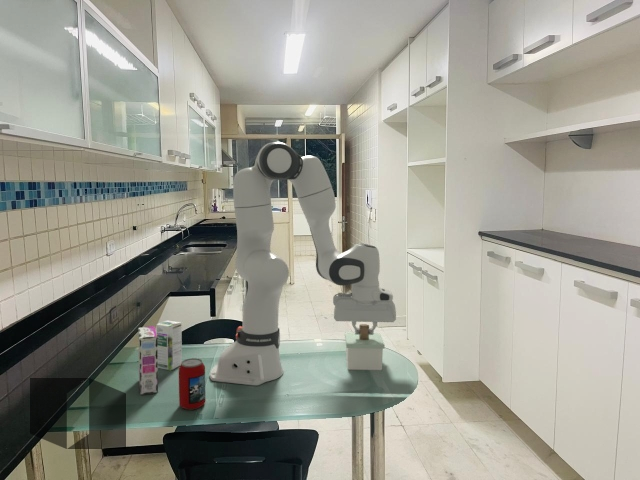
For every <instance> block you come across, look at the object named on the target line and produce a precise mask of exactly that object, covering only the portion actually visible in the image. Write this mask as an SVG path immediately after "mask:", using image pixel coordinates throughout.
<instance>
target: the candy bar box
mask: <svg viewBox="0 0 640 480" xmlns="http://www.w3.org/2000/svg"><path fill="white" fill-rule="evenodd" d="M137 330H138V334H137V335H138V338H137V339H138V341H137V342H138V378H139V380H138V381H139V392H140V394H139V395H141V396H144V395H149V394H150V395H151V394H157V393H158V392H159V368H158V347H157V331H156V326H155V325H154V326H153V325H152V326H144V327H138V329H137Z"/></svg>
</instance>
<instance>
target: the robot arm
mask: <svg viewBox="0 0 640 480" xmlns="http://www.w3.org/2000/svg"><path fill="white" fill-rule="evenodd" d="M287 180H288V181H289V182H290V183H291V184H292V186H293V188H294V190H295V194H296V198H297V200H298V203H299V205H300V208H301V210H302V213H303V215H304V217H305V219H306V222H307V224H308V227H309V230H310V234H311V238H312V241H313V245H314V247H315V253H316V256H315V257H316V258H315V268H316V269H315V270H316V272H317V274H318V275H319V276H320V277H321V278H322V279H324V280H326V281H329V282H330V283H333V284H334V285H336V286H349V285H351V292H338V293H336V294H334V295H333V298H332V303H333V305H334V311H333V319H334V320H335V322H348V323H349V322H351V325H352V327H353V329H354V333H355V335H359V334H360V333H359V332H360V329H359V327H357V326H356V325H357V323H360V322H362V323H363V322H365V323H370V322H371V323H372V326H371V328H370V327H369V335H374V333H375V329H376V328H377V326H378V323H394V322H395V321H396V320H397V311H396V310H397V308H396V305H395V303H394V301H393V299H394V296H393V293H392V292H391V290H389V289H385V288H383V287H380V281H379V274H380V272H381V271H380V270H381V268H380V267H381V266H380V253H379V249H378V248H377V247H376V246H374V245H371V244H367V243H364V242H363V243H361V242H358V243H355V244H354V245H353V246H352V247H350V248H349V249H348V250H346V251H343V252H340V251H339V250H338V249H337V248H336V246H335V243H334V240H333V237H332V236H333V235H332V232H331V228H330V218H331V216H332V215H333V214H334V212H335V210H336V207H337V203H336V198H335V197H336V196H335V192H334V190H333V187H332V184H331V183H332V182H331V180H330V178H329V175H328V173H327V171H326V169H325V167H324V165H323V163H322V161H321V160H320V159H319V158H318V157H317V156H313V155H305V156H301V155H300V154H298V152H297V151H295V149H293V147H291V146H290V145H289V144H287V143H285V142H281V141H271V142H268V143H266V144H264V145H263V146H262V147H261V148H260V149H259V151H258V152H257V154H256V157H255V159H254V161H253V164H252V166H250V167H245V168H241V169H240V170H239V171H237V172H236V173H235V174H234V177H233V185H232V186H233V188H232V189H233V190H232V191H233V192H232V194H233V207H234V209H233V210H234V215H235V222H236V230H237V232H236V233H237V235H236V237H237V240H236V241H237V242H236V258H235V260H234V266H235V267H234V268H235V270H236V272H237V274H238V275H239V276H240V277H241V278H242V279H243V280H245V281H246V282H247V291H246V296H245V300H244V302H243V303H242V313H241V314H242V326H241V325H240V326H238V327H237V328H236V333H235V341H234V342H232V343H231V344H230V345H228V346H227V347H226V348H224V349H223V351H221V353H220V354H219V357H218V360H217V363H216V364H215V365H214V366H213V367H212V368H211V370H210V373H209V379H210V380H211V381H213V382H220V383H229V384H230V383H231V384H239V385H246V386H260V385H262V384H264V383H267V382H270V381H274V380H276V379H278V378H280V377H281V376H282V375H283V374H284V369H283V366H282V362H281V356H280V345H281V333H280V327H279V307H280V306H279V305H280V299H281V295H282V290H283V287H284V285H286V283H287V281H288V280H289V274H290V272H289V271H290V270H289V267H288V264H287V263H286V261H284V260H283V258H282V257H281V256H279V255H278V254H275V253H273V252H272V251H271V242H272V234H273V232H274V230H275V226H274V225H275V224H274V217H273V206H272V200H271V199H272V198H271V187H272V183H273V182H274V181H287Z"/></svg>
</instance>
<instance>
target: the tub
mask: <svg viewBox="0 0 640 480" xmlns="http://www.w3.org/2000/svg"><path fill="white" fill-rule="evenodd" d="M345 348H346V347H345ZM383 350H384V349H373V348H346V349H345V351H346V352H345V358H346V359H345V360H346V367H347V370H348V371H349V370H354V371H355V370H357V371H358V370H360V371H383V355H384V353H383V352H384V351H383Z"/></svg>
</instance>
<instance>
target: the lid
mask: <svg viewBox="0 0 640 480" xmlns="http://www.w3.org/2000/svg"><path fill="white" fill-rule="evenodd" d="M358 328H359V329H360V332H359V333H360V334H359V335H355V332H349V331H348V332H344V339H345V346H346V347H345V348H373V349H383V350H384V349H385V343H384V340H383V336H382V335H381V334H382V333H381V332H374V335H369V328H370V325H369V324H367V323H361V324H359V327H358Z"/></svg>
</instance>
